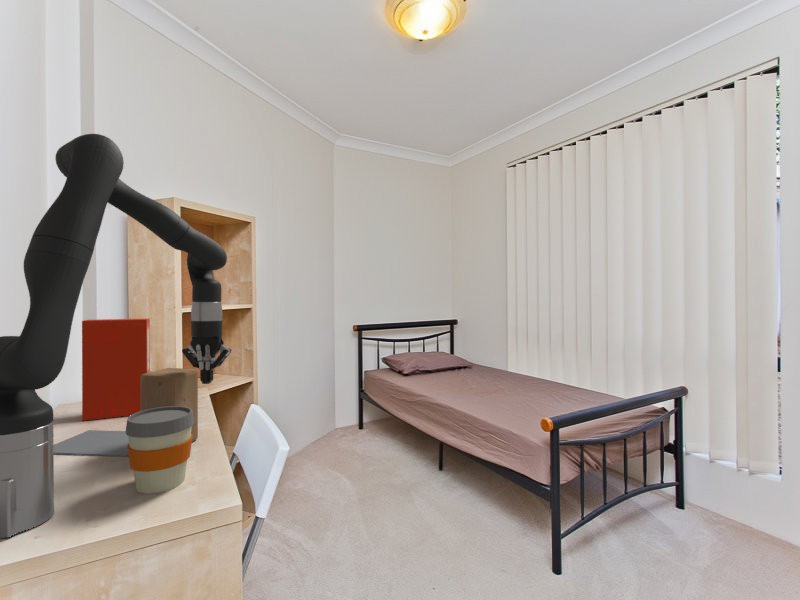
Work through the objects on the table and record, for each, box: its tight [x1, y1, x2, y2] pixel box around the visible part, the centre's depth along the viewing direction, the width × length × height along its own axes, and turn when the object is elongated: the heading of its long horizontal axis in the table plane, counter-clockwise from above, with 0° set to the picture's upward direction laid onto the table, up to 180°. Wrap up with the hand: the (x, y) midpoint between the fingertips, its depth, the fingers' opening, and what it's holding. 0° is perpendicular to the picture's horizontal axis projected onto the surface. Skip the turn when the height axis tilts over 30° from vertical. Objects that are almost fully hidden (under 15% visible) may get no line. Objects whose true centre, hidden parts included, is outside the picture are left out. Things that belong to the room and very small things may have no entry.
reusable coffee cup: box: [125, 406, 194, 495], centre depth 84 cm, size 13×13×15 cm
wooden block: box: [140, 367, 199, 443], centre depth 105 cm, size 10×10×20 cm
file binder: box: [81, 318, 151, 422], centre depth 131 cm, size 8×17×32 cm, turn 116°
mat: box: [53, 429, 129, 457], centre depth 106 cm, size 16×24×1 cm, turn 87°
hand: (206, 383), depth 104 cm, fingers closed
